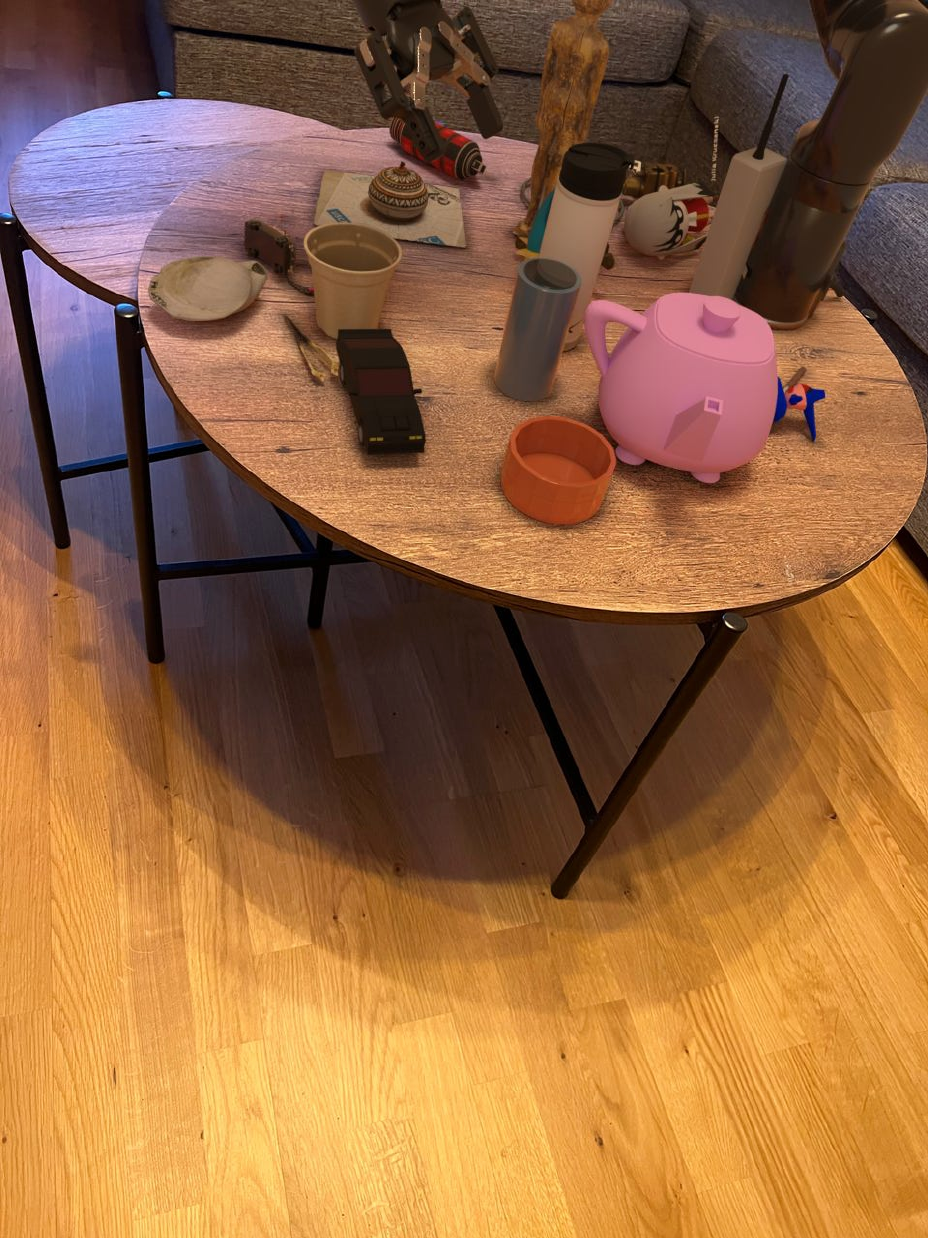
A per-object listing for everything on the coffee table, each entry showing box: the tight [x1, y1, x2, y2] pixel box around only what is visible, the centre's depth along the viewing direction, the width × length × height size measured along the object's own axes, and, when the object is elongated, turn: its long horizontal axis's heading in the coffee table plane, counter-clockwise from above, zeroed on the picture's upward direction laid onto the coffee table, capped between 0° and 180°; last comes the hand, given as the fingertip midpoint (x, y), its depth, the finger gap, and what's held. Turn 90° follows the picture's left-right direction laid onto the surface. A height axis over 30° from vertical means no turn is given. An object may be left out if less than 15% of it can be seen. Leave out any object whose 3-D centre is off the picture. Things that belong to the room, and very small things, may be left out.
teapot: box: [583, 292, 779, 484], centre depth 89 cm, size 20×20×15 cm
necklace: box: [285, 264, 314, 297], centre depth 104 cm, size 4×6×1 cm
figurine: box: [772, 376, 826, 444], centre depth 100 cm, size 5×8×5 cm, turn 86°
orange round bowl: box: [500, 415, 617, 526], centre depth 87 cm, size 9×9×4 cm
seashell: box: [147, 255, 268, 322], centre depth 96 cm, size 12×8×5 cm
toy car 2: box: [335, 328, 427, 456], centre depth 90 cm, size 7×16×5 cm, turn 15°
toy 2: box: [623, 116, 720, 260], centre depth 119 cm, size 15×10×15 cm
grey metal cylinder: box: [493, 258, 582, 402], centre depth 94 cm, size 6×6×12 cm
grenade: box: [388, 117, 497, 181], centre depth 126 cm, size 6×5×15 cm
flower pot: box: [303, 222, 403, 340], centre depth 97 cm, size 9×9×9 cm
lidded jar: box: [313, 160, 467, 248], centre depth 116 cm, size 15×18×7 cm
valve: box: [621, 161, 688, 198], centre depth 129 cm, size 7×15×5 cm, turn 89°
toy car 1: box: [243, 214, 297, 275], centre depth 106 cm, size 4×12×8 cm
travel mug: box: [539, 142, 636, 352], centre depth 98 cm, size 6×7×20 cm
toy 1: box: [514, 189, 621, 271], centre depth 110 cm, size 13×12×15 cm
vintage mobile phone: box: [688, 73, 790, 300], centre depth 107 cm, size 4×5×25 cm
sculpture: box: [512, 0, 613, 237], centre depth 107 cm, size 7×6×30 cm
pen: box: [783, 365, 808, 394], centre depth 105 cm, size 11×1×1 cm, turn 146°
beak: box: [282, 312, 340, 382], centre depth 96 cm, size 12×3×1 cm, turn 26°
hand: (466, 146), depth 87 cm, fingers open, 8 cm apart
